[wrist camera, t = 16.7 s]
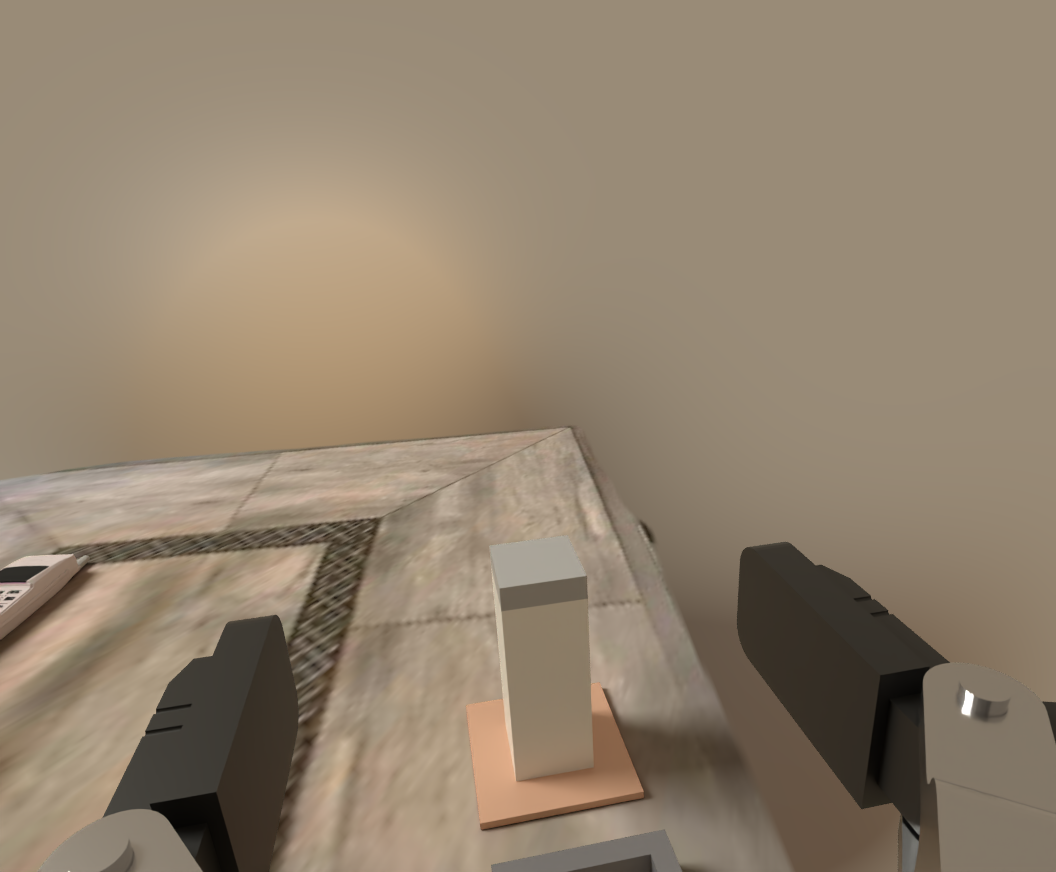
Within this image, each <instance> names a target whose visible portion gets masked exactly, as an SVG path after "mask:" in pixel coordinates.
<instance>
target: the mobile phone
mask: <svg viewBox="0 0 1056 872" xmlns="http://www.w3.org/2000/svg"><path fill="white" fill-rule="evenodd" d="M89 560H90V558H89V556H83V557H82V558H80V559H79V560H76V558H75V556H74V555H73V554H68V555H41V556H27V557H23V558H21V559H19V560H17V561H15V562H13V563H11V564H10V565H8V566H6V567H4V568H3V569H1V570H0V640H1V639H2V638H4V637H5V636H6V635H7V634H9V633H10V632H11V631H12V630H14V629H15V628H16V627H17V626H18V625H20V624H21V623H22V622H23V621H24V620H26V619H27V618H28V617H29V616H30V615H31V614H33V613H34V612H35V611H36V610H37V609H39V608H40V607H41V606H42V605H43V604H45V603H46V602H47V601H48V600H49V599H50V598H52V597H53V596H54V595H55V594H56V593H58V592H59V591H60V590H61V589H62V588H63V587H64V586H65V585H66V584H67V582H68V581H69V580H70V579H71V578H72V577H73V575H74V574H76V573H77V572H78V571H79V570H80V569H81V568H82V567H83V566H84V565H85V564H86V563H87V562H88V561H89Z"/></svg>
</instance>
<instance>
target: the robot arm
mask: <svg viewBox="0 0 1056 872" xmlns="http://www.w3.org/2000/svg"><path fill="white" fill-rule="evenodd" d="M739 573H740V574H739V592H738V611H737V629H738V635H739V639H740V642H741V645H742V648H743V650H744V652H745V654H746V656H747V657H748V659H749V660H750V662H751V663H752V664H753V665H754V667H755V668H756V670H757V671H758V672H759V674H760V675H761V676H762V678H763V679H764V680H765V682H766V683H767V684H768V686H769V687H770V688H771V690H772V691H773V692H774V693H775V695H776V696H777V697H778V699H779V700H780V702H781V703H782V704H783V705H784V707H785V708H786V709H787V711H788V712H789V713H790V715H791V716H792V717H793V719H794V720H795V721H796V723H797V724H798V725H799V727H800V728H801V729H802V731H803V732H804V733H805V735H806V736H807V737H808V739H809V740H810V741H811V743H812V744H813V745H814V747H815V748H816V749H817V751H818V752H819V753H820V755H821V756H822V757H823V759H824V760H825V761H826V762H827V764H828V765H829V767H830V768H831V769H832V770H833V772H834V773H835V775H836V776H837V777H838V779H839V780H840V781H841V783H842V784H843V785H844V786H845V788H846V789H847V791H848V792H849V793H850V794H851V796H852V797H853V798H854V800H855V801H856V802H857V804H858V805H859V806H860V808H861V809H864V808H869V807H874V806H879V805H883V804H888V803H893V804H894V805H895V807H896V808H897V809H898V810H899V811H900V813H901V815H900V822H899V828H898V872H1056V702H1042V701H1041V700H1040V698H1039V697H1038V696H1037V695H1036V694H1035V693H1034V692H1033V691H1031V690H1030V689H1029V688H1028V687H1027V686H1025V685H1023V684H1022V683H1020V682H1019V681H1017V680H1015V679H1014V678H1012V677H1010V676H1008V675H1006V674H1003V673H1001V672H999V671H996V670H993V669H990V668H987V667H983V666H979V665H974V664H969V663H950V662H949V661H947V660H946V659H945V658H944V657H942V655H940V654H939V653H938V652H937V651H936V650H934V649H933V648H932V647H931V646H930V645H928V644H927V643H926V642H925V641H923V640H922V639H921V638H920V637H919V636H918V635H917V634H915V633H914V632H913V631H912V630H911V629H910V628H908V627H907V626H906V625H905V624H903V623H902V622H901V621H900V620H899V619H898V618H896V617H895V616H894V615H893V614H890V615H889V613H888V610H887V609H886V608H885V607H883V606H882V605H881V604H880V603H879V602H877V601H876V600H875V599H874V600H872V599H871V596H870V595H869V594H868V593H867V592H866V591H864V590H863V589H862V588H861V587H860V586H858V585H857V584H856V583H855V582H854V581H853V580H851V579H850V578H848V577H846V576H844V575H842V574H840V573H838V572H835V571H833V570H831V569H829V568H827V567H825V566H823V565H817V566H816V565H814V564H813V563H812V562H811V561H810V560H809V559H807V557H805V556H804V555H803V554H802V553H801V552H800V551H799V550H797V549H796V548H795V547H794V546H793V545H792V544H790V543H788V542H781V543H774V544H767V545H760V546H753V547H747V548H745V549H744V550H743V552H742V554H741V558H740V572H739ZM298 716H299V714H298V698H297V691H296V687H295V682H294V677H293V673H292V668H291V664H290V659H289V654H288V650H287V645H286V641H285V636H284V631H283V627H282V623H281V621H280V618H279V617H278V616H277V615H271V616H265V617H258V618H251V619H244V620H237V621H230V622H228V623H227V624H226V626H225V628H224V630H223V632H222V635H221V637H220V640H219V642H218V644H217V647H216V649H215V651H214V654H213V656H210V657H203V658H196V659H193V660H192V661H191V662H190V663H189V664H188V665H187V666H186V667H185V668H184V669H183V670H182V671H181V672H180V673H179V674H178V675H177V676H176V677H175V678H174V679H173V680H172V681H171V682H170V683H169V684H168V686H167V688H166V690H165V692H164V694H163V696H162V698H161V700H160V702H159V704H158V706H157V708H156V714H153V716H152V718H151V720H150V723H149V725H148V727H147V729H146V731H145V732H146V735H145V736H144V737H142V739H141V741H140V743H139V745H138V747H137V749H136V751H135V753H134V755H133V757H132V759H131V761H130V763H129V765H128V767H127V769H126V771H125V773H124V775H123V777H122V779H121V781H120V783H119V785H118V787H117V789H116V792H115V794H114V796H113V798H112V800H111V802H110V804H109V806H108V808H107V810H106V812H105V814H104V816H103V818H101V819H99V820H97V821H95V822H93V823H91V824H89V825H87V826H86V827H84V828H82V829H81V830H79V831H78V832H76V833H75V834H73V835H72V836H71V837H70V838H68V839H67V840H66V841H64V842H63V843H62V844H61V845H60V846H59V847H58V848H57V849H56V850H55V851H54V852H53V853H52V854H51V855H50V856H49V857H48V858H47V859H46V861H45V862H44V863H43V864H42V866H41V867H40V869H39V870H38V872H269V869H270V864H271V859H272V854H273V849H274V844H275V839H276V834H277V830H278V825H279V820H280V815H281V810H282V805H283V800H284V795H285V790H286V786H287V781H288V776H289V771H290V766H291V761H292V756H293V751H294V746H295V741H296V737H297V731H298Z"/></svg>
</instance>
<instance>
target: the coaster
mask: <svg viewBox="0 0 1056 872" xmlns="http://www.w3.org/2000/svg"><path fill="white" fill-rule="evenodd" d="M591 705H592V733H593V761H594V767H593V768H587V769H582V770H576V771H571V772H565V773H560V774H554V775H549V776H544V777H538V778H533V779H527V780H522V781H516V778H515V773H514V767H513V762H512V756H511V751H510V745H509V740H508V734H507V729H506V723H505V712H504V701H503V699H498V700H493V701H487V702H481V703H475V704H469V705H466V711H467V719H468V727H469V736H470V744H471V752H472V761H473V769H474V777H475V786H476V794H477V802H478V810H479V819H480V827H481V830H483V829H488V828H493V827H498V826H503V825H508V824H513V823H518V822H523V821H529V820H534V819H539V818H544V817H549V816H554V815H559V814H564V813H569V812H574V811H579V810H584V809H590V808H595V807H600V806H605V805H610V804H615V803H620V802H625V801H630V800H635V799H640V798H644V791H643V788H642V786H641V783H640V781H639V779H638V776H637V774H636V771H635V769H634V766H633V764H632V761H631V759H630V756H629V754H628V751H627V749H626V746H625V744H624V741H623V739H622V737H621V734H620V732H619V729H618V727H617V724H616V722H615V719H614V717H613V714H612V712H611V709H610V707H609V704H608V702H607V700H606V697H605V695H604V692H603V690H602V687H601V685H600V682H598V683H592V684H591Z"/></svg>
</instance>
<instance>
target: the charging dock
mask: <svg viewBox="0 0 1056 872" xmlns="http://www.w3.org/2000/svg"><path fill="white" fill-rule="evenodd" d="M491 868H492V872H682V870H681V868H680V865H679V863H678V860H677V858H676V855H675V853H674V851H673V848H672V846H671V843H670V841H669V839H668V836H667V834H666V831H665V830H660V831H655V832H650V833H645V834H640V835H635V836H630V837H625V838H621V839H616V840H611V841H606V842H601V843H596V844H591V845H586V846H582V847H577V848H572V849H567V850H562V851H557V852H552V853H547V854H542V855H538V856H533V857H528V858H523V859H518V860H513V861H508V862H503V863H498V864H494V865H491Z"/></svg>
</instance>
